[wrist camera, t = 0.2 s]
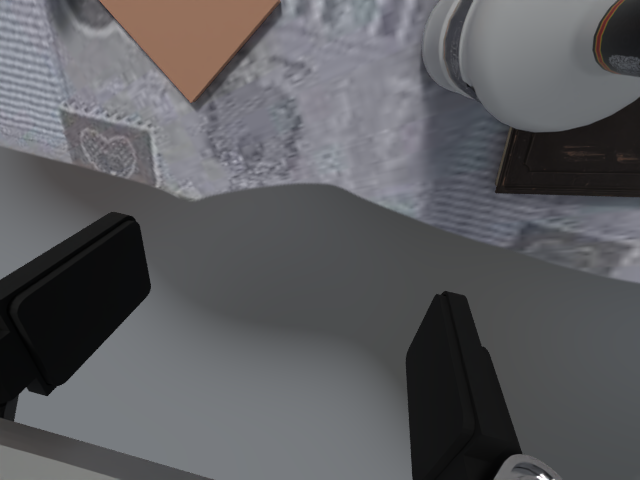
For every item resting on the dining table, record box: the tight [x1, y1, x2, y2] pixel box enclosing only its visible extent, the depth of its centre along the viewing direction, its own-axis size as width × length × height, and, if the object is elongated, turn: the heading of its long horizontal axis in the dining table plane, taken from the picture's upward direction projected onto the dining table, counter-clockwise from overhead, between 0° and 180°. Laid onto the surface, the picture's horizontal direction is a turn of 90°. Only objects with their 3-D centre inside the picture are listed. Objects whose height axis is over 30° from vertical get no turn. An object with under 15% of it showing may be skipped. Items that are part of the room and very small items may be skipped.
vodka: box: [422, 0, 640, 132], centre depth 18 cm, size 9×9×30 cm
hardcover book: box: [495, 97, 640, 197], centre depth 31 cm, size 16×23×2 cm
